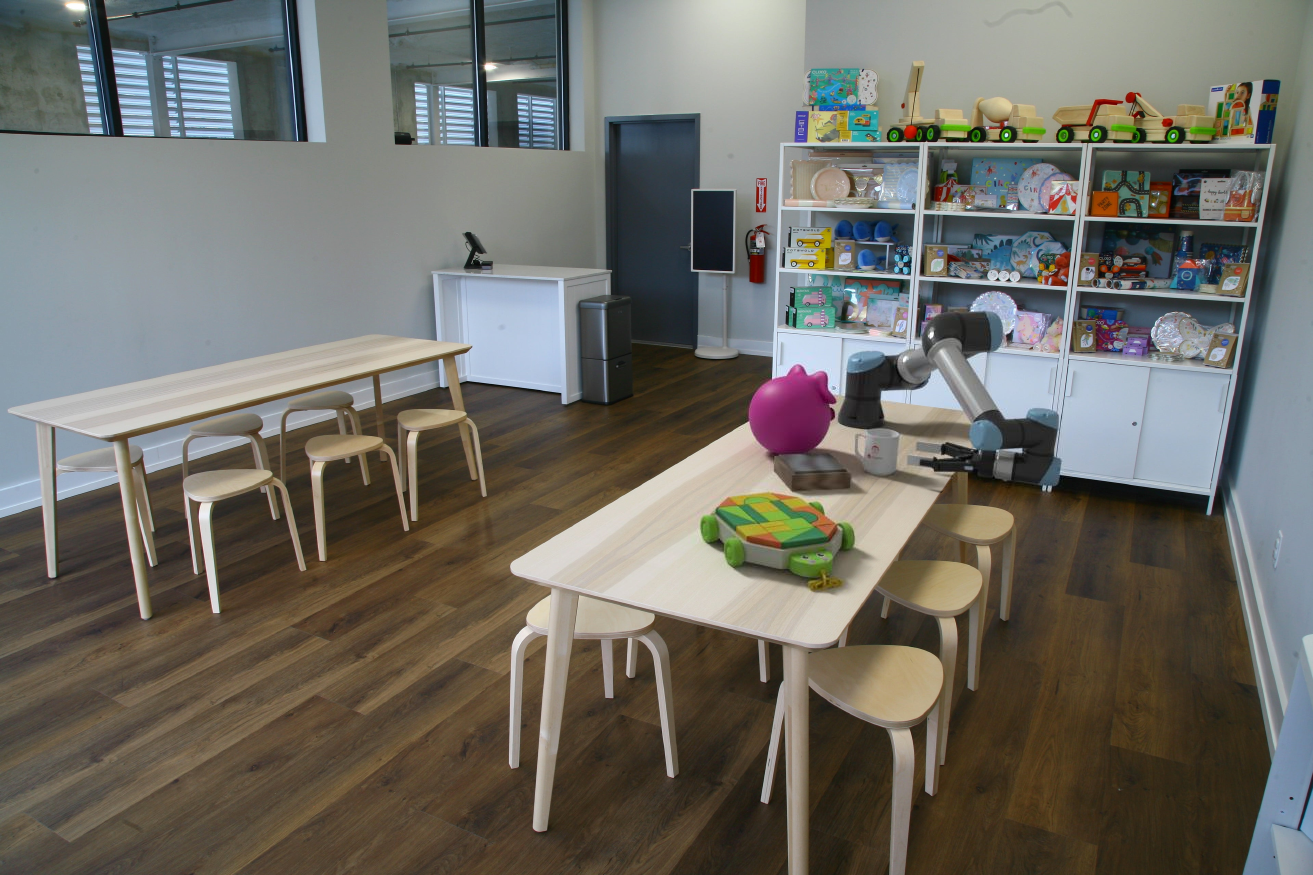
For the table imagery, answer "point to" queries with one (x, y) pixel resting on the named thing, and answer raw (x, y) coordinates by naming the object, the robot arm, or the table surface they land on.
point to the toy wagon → (779, 535)
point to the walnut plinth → (811, 472)
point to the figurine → (792, 412)
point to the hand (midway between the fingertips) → (911, 452)
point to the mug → (879, 451)
